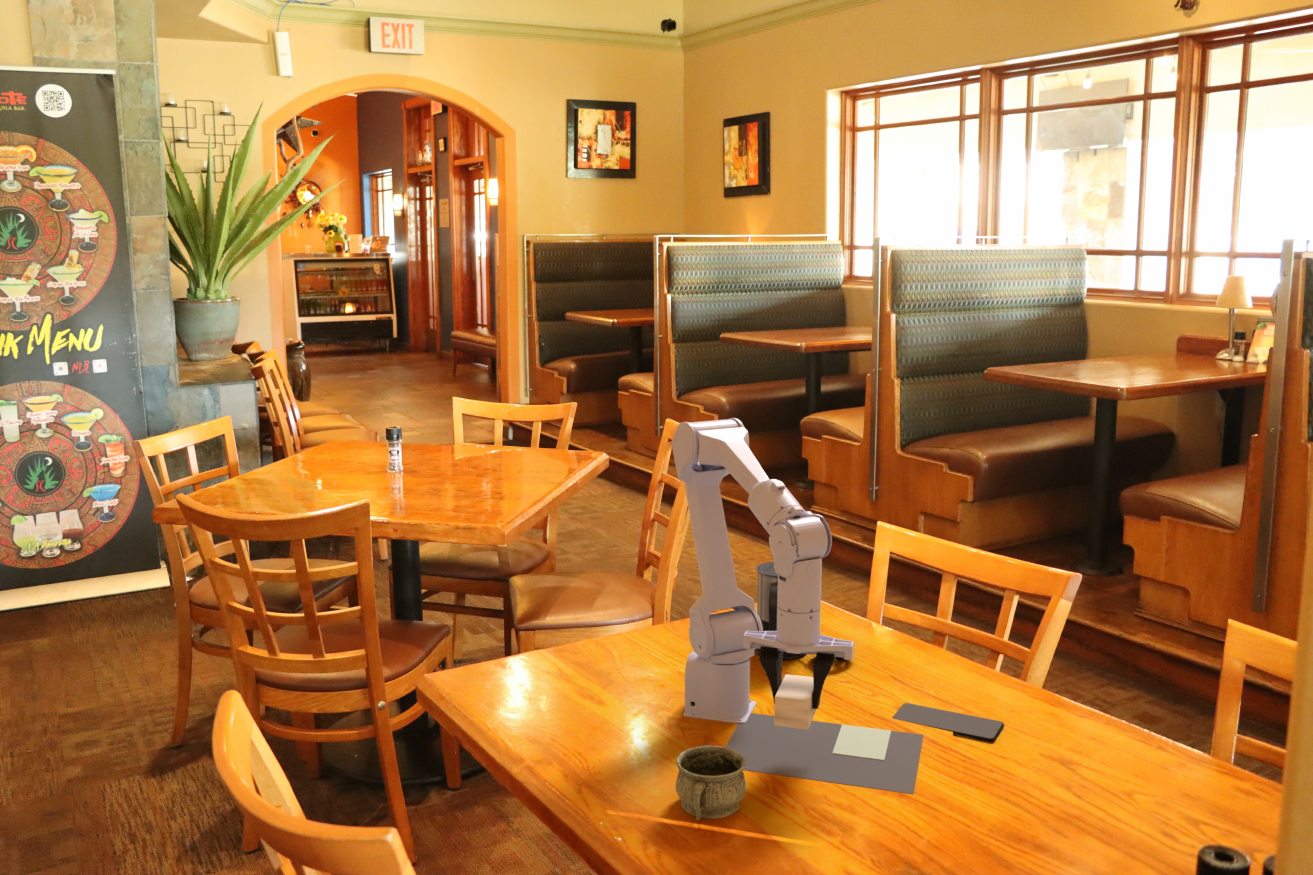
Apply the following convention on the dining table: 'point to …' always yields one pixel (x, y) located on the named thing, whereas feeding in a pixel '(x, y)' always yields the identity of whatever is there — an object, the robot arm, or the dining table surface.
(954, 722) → the smartphone
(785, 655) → the milk frother
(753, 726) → the rubber mat
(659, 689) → the dining table surface
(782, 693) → the birch block
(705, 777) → the vessel
